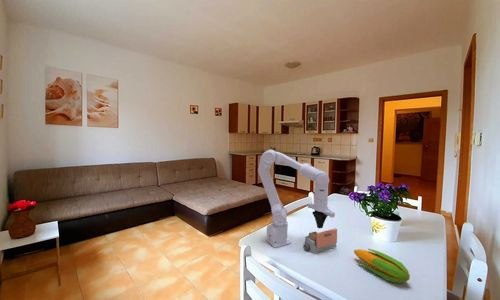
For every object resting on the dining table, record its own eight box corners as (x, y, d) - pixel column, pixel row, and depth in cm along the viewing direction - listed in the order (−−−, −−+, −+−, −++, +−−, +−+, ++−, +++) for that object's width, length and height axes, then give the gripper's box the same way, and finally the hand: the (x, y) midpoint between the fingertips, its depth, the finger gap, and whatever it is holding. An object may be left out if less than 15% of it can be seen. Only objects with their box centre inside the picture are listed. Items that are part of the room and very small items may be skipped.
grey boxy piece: (310, 254, 92) (311, 241, 92) (303, 248, 97) (303, 236, 96) (338, 246, 100) (338, 234, 99) (329, 241, 104) (330, 230, 104)
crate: (314, 245, 94) (315, 236, 93) (308, 241, 97) (308, 233, 97) (321, 243, 96) (322, 235, 95) (315, 239, 99) (315, 231, 99)
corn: (404, 269, 70) (348, 242, 87) (402, 292, 71) (347, 261, 88) (414, 264, 74) (359, 239, 91) (412, 285, 75) (357, 257, 92)
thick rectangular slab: (318, 248, 92) (318, 234, 92) (316, 246, 93) (316, 233, 93) (337, 242, 97) (337, 229, 97) (335, 241, 98) (335, 228, 98)
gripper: (340, 201, 93) (339, 232, 94) (316, 193, 106) (315, 220, 107) (328, 203, 90) (327, 235, 91) (304, 195, 103) (303, 222, 104)
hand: (319, 227), depth 99 cm, fingers closed
